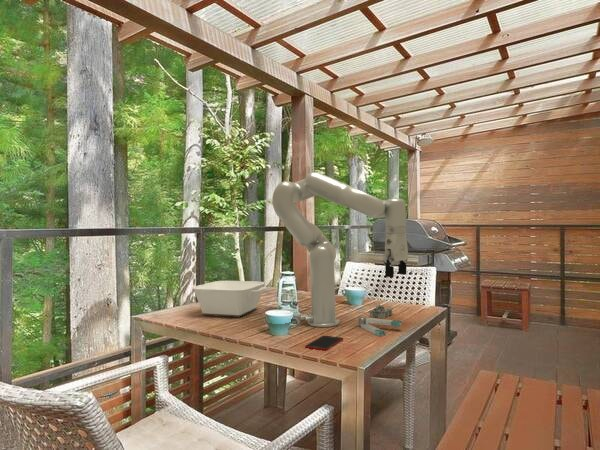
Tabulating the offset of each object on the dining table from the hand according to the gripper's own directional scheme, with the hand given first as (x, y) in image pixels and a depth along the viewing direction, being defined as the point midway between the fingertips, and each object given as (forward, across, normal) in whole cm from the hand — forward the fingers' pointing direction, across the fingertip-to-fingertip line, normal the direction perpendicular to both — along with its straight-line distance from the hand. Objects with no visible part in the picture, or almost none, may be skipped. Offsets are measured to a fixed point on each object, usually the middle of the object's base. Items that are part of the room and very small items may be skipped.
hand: (396, 275), depth 161 cm
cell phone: (+20, -36, +6) cm, 42 cm away
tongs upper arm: (+17, -8, +1) cm, 19 cm away
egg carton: (+20, +11, +14) cm, 27 cm away
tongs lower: (+19, -13, +4) cm, 23 cm away
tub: (+20, -25, +70) cm, 77 cm away
